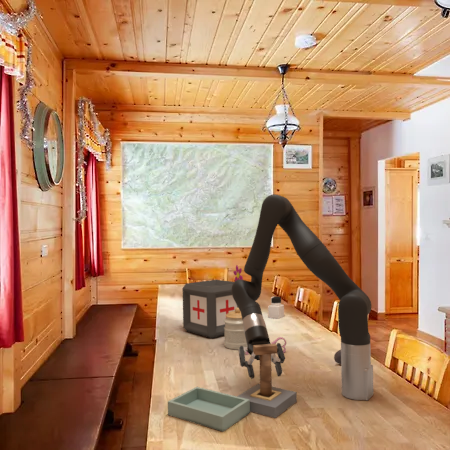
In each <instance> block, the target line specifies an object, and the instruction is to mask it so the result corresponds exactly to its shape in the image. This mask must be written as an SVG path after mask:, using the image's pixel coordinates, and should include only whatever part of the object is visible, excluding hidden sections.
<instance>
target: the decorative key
mask: <svg viewBox="0 0 450 450" xmlns="http://www.w3.org/2000/svg"><path fill="white" fill-rule="evenodd" d="M279 340H283V341H284V344H283V345H281V347H282V350H283V353H284V354H285V353H286V351H287V349H286V345H287V340H286V339H285V338H284V337H281V336H279V337H277V338H276V339H275V340H273V341H270V343H271V344H276V343H278V342H279ZM276 345H277V344H276ZM245 355H247V356H249V355H250V354H249V353H248V352H247V351H246V353H245Z"/></svg>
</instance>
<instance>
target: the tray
mask: <svg viewBox="0 0 450 450" xmlns="http://www.w3.org/2000/svg"><path fill="white" fill-rule="evenodd" d="M237 396H238V395H234V394H233V395H232V394H229V393H223V392H220V391H216V390H212V389H208V388H204V387H199V386H196V387H194V388H192V389H189V390H187V391H186V392H184V393H181V394H179V395H178V396H176V397H174V398H172V399H169V400H168V401H167V415H168V416H171V417H174V418H177V419H180V420H184V421H186V422H191V423H192V424H193V423H194V424H196V425H200V426H203V427H206V428H210V429H213V430H216V431H219V432H222V433H224V432H225V431H227V429H229V428H231V427H232V426H233V425H236V423H238V422H239V421H241V420H242V419H243V418H245V417H246V416H248V415H249V414H251V412H250V400H249V399H245V398H241V397H237Z"/></svg>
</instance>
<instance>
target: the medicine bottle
mask: <svg viewBox="0 0 450 450" xmlns="http://www.w3.org/2000/svg"><path fill="white" fill-rule="evenodd" d="M267 311H268V312H267V314H268V315H267V316H268V317H267V318H269V319H278V320H279V319H282V318H284V317H285V305H284V304H282V298H281V297H280V296H271V297H270V305H268V306H267Z"/></svg>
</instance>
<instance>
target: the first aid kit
mask: <svg viewBox="0 0 450 450" xmlns="http://www.w3.org/2000/svg"><path fill="white" fill-rule="evenodd" d="M234 282H235V281H231V280H229V281H228V280H222V279H211V280H210V279H209V280H202V281H196V282H188V283H185V284H184V285H183V287H182V325H183V327H182V328H183V330H185V331H186V332H188V333H191V334H194V333H195V334H194V335H199V336H202V337H205V338H208V339H216V338H219V337H225V336H224V327H225V322H224V320H225V319H226V314H228V313H229V312H231V311H235V308H237V307H238V306H237V304H236V302H235V301H234V299H233V296H232V291H231V289H232V285H233V283H234Z"/></svg>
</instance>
